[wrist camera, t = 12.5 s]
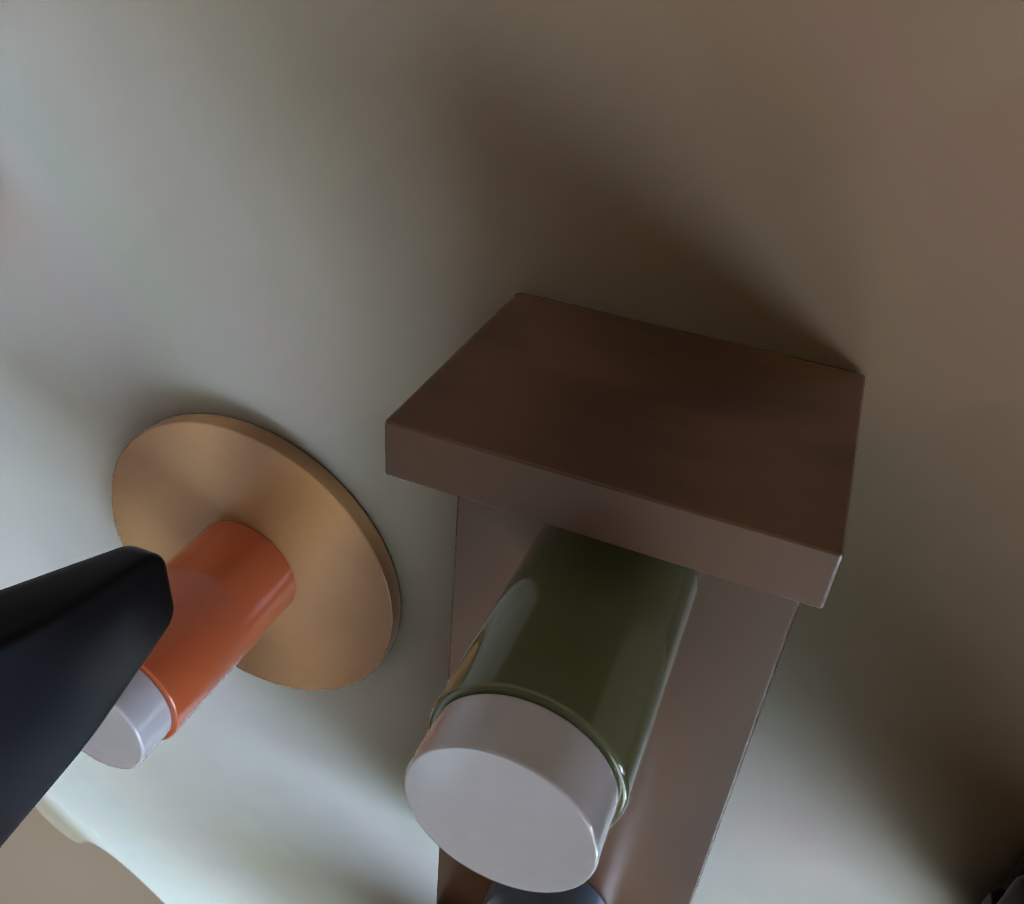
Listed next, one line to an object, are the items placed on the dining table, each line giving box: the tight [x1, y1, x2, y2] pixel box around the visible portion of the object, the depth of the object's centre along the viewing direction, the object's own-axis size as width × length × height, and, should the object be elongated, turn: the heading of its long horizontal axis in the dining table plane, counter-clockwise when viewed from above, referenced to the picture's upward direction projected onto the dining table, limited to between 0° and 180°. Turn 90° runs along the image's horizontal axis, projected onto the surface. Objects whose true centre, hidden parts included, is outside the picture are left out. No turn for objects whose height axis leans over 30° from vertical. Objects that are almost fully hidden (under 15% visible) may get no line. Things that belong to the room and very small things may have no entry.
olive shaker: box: [404, 523, 698, 893], centre depth 17 cm, size 4×4×7 cm
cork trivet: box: [111, 413, 401, 690], centre depth 29 cm, size 11×11×1 cm
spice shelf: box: [385, 293, 865, 904], centre depth 24 cm, size 8×23×6 cm, turn 175°
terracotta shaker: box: [81, 521, 296, 769], centre depth 26 cm, size 4×4×7 cm
